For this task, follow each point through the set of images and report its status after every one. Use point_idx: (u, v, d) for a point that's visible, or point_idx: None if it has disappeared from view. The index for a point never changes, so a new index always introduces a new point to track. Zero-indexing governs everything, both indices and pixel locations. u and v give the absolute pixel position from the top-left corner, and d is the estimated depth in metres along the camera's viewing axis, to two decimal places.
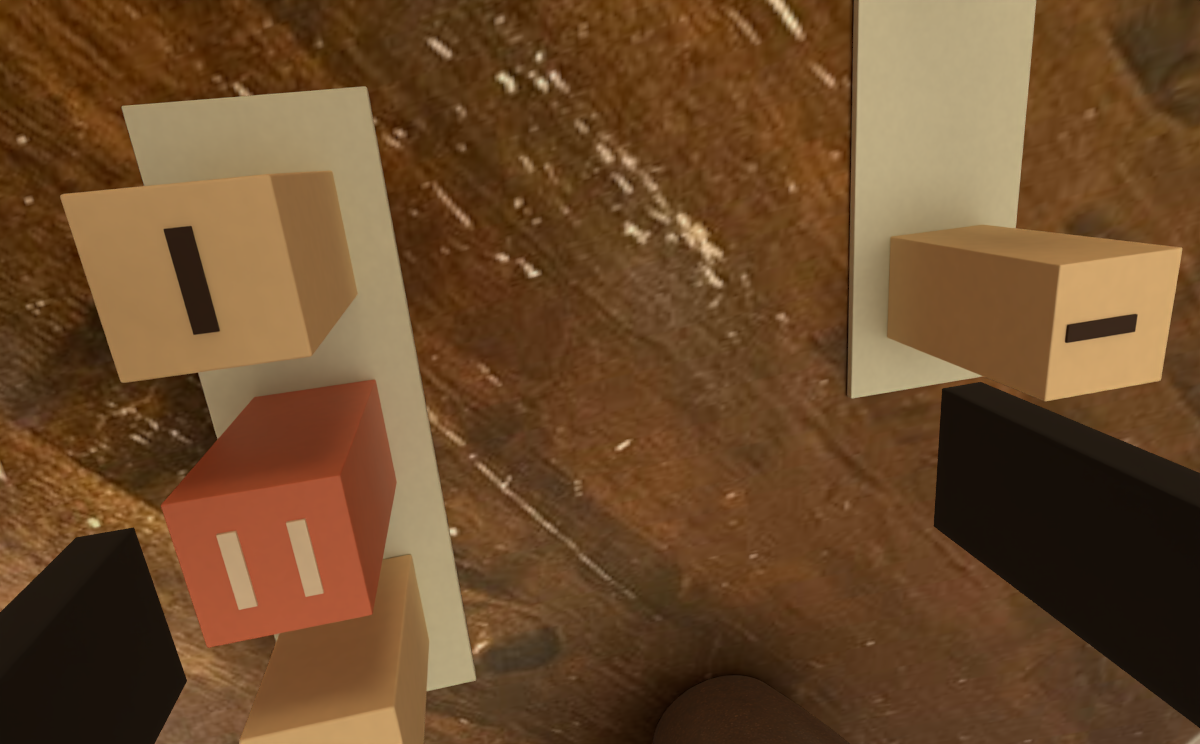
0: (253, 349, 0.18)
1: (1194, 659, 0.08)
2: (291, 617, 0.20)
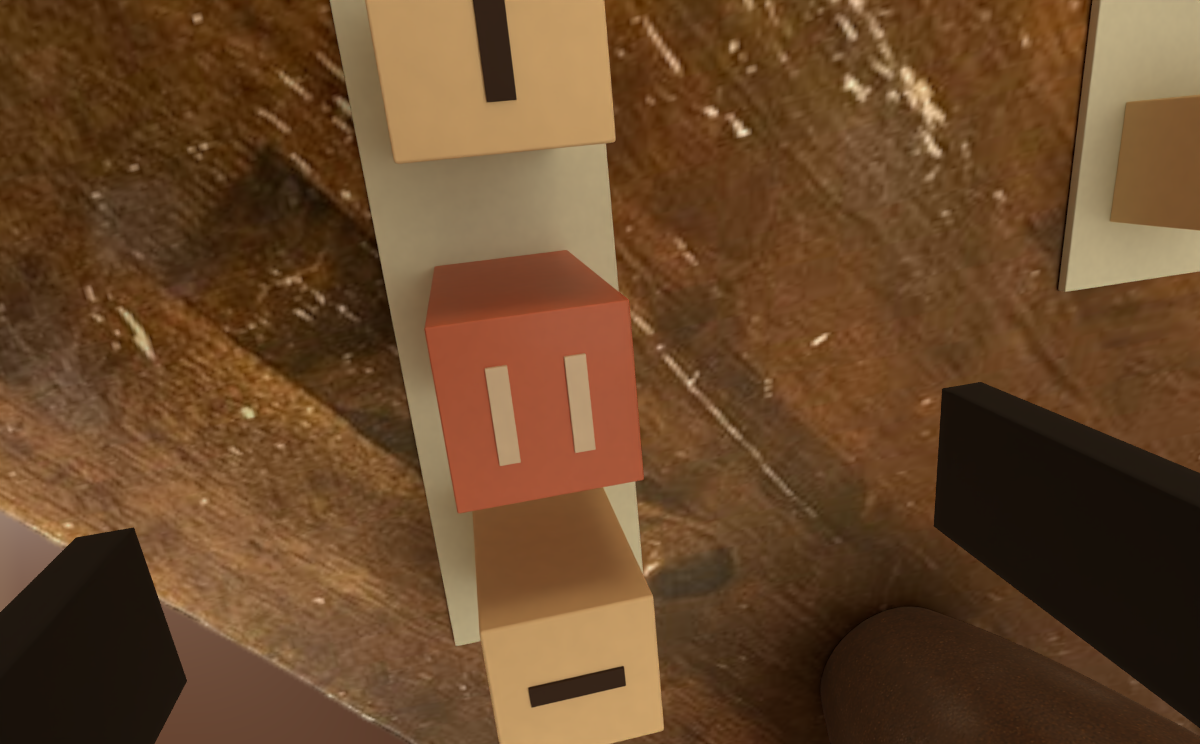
0: (551, 127, 0.14)
1: (1192, 659, 0.08)
2: (556, 479, 0.17)
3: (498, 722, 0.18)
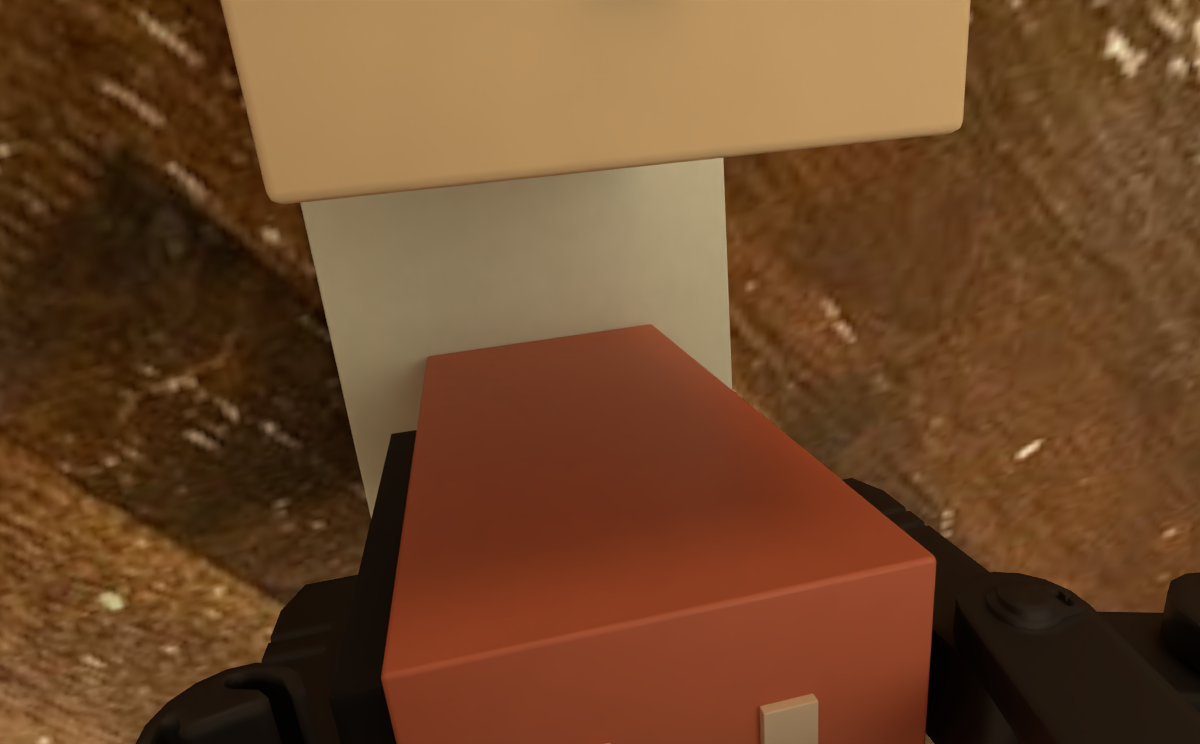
0: (783, 84, 0.04)
1: None
2: None
3: None
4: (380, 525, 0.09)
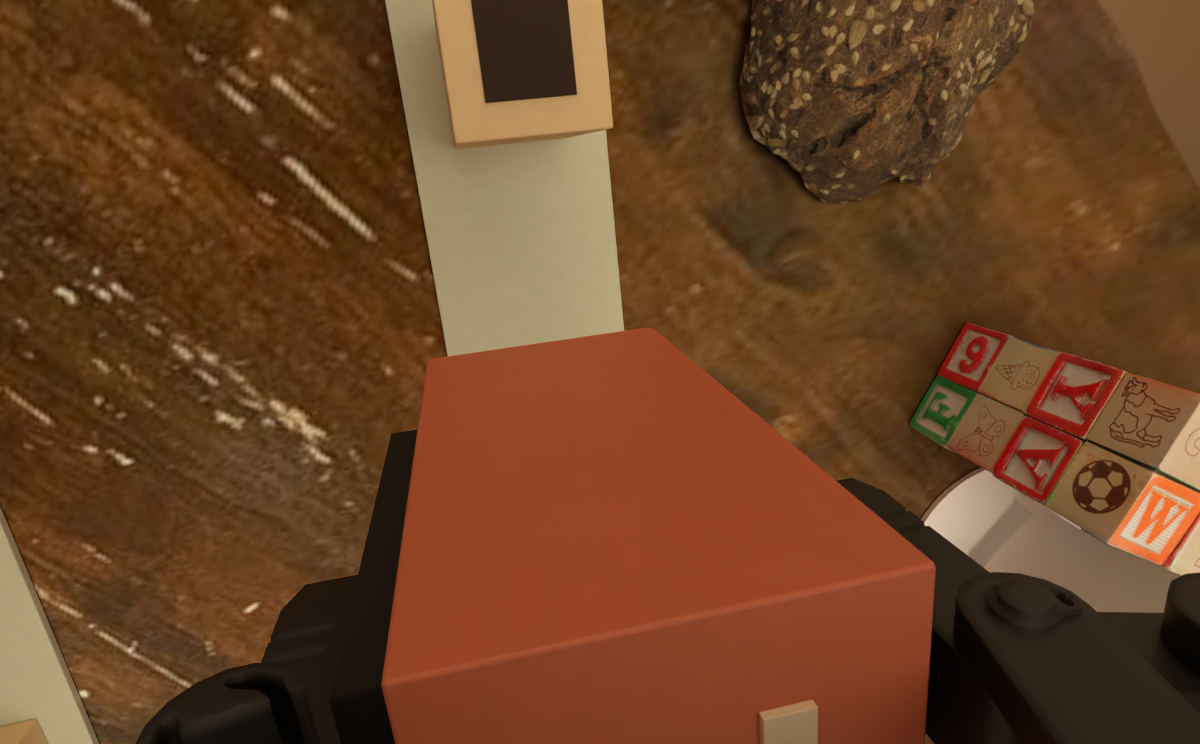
0: None
1: None
2: None
3: None
4: (380, 525, 0.09)
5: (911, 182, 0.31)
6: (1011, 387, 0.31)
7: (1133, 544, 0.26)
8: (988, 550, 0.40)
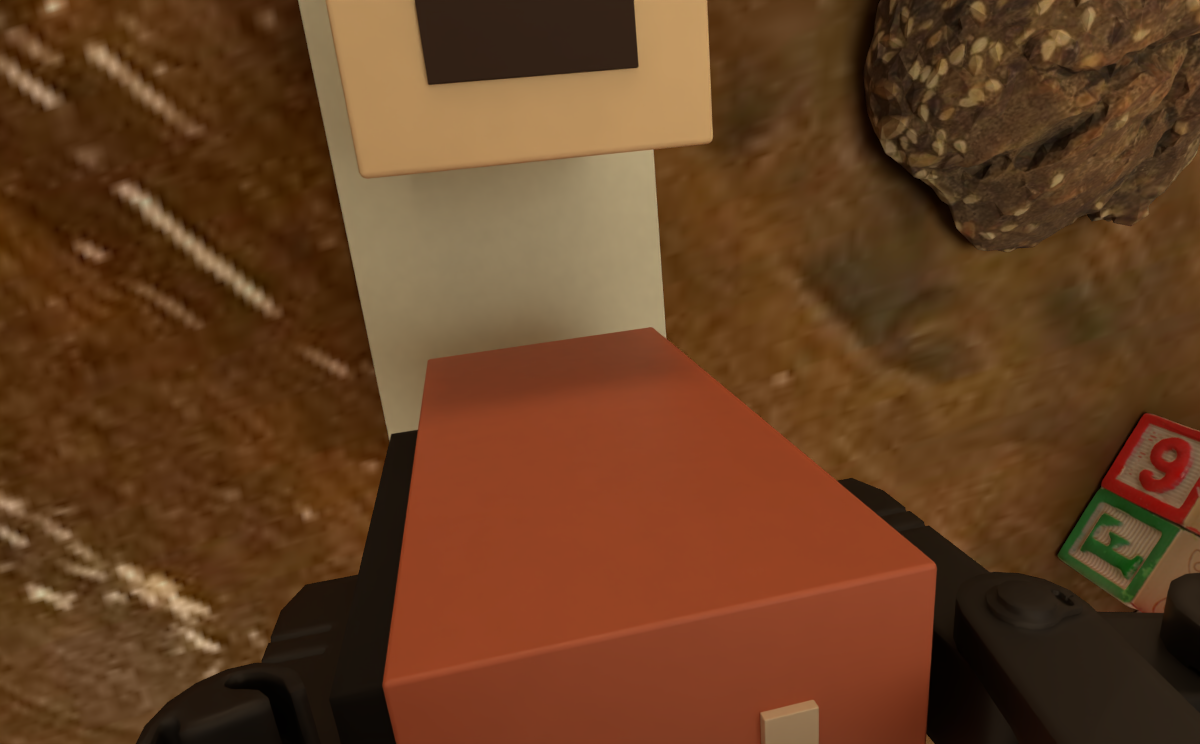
0: None
1: None
2: None
3: None
4: (380, 525, 0.09)
5: (1116, 220, 0.20)
6: None
7: None
8: None
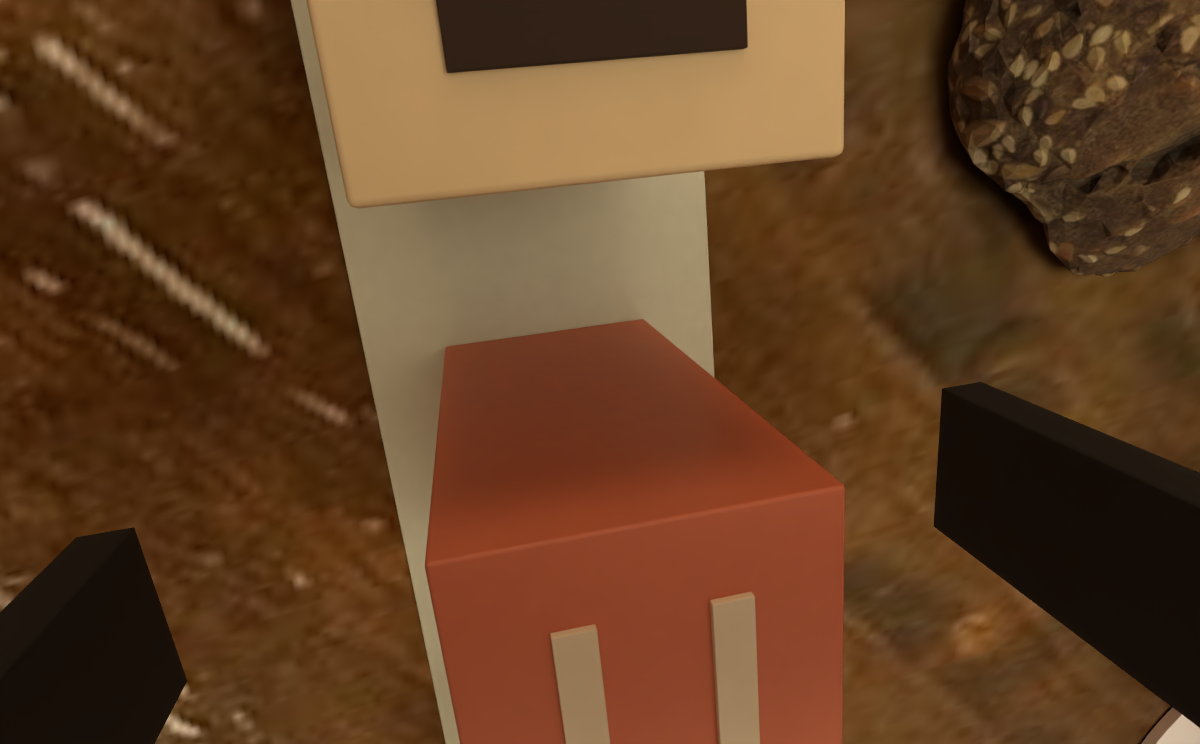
0: None
1: (1193, 659, 0.08)
2: None
3: None
4: None
5: None
6: None
7: None
8: None
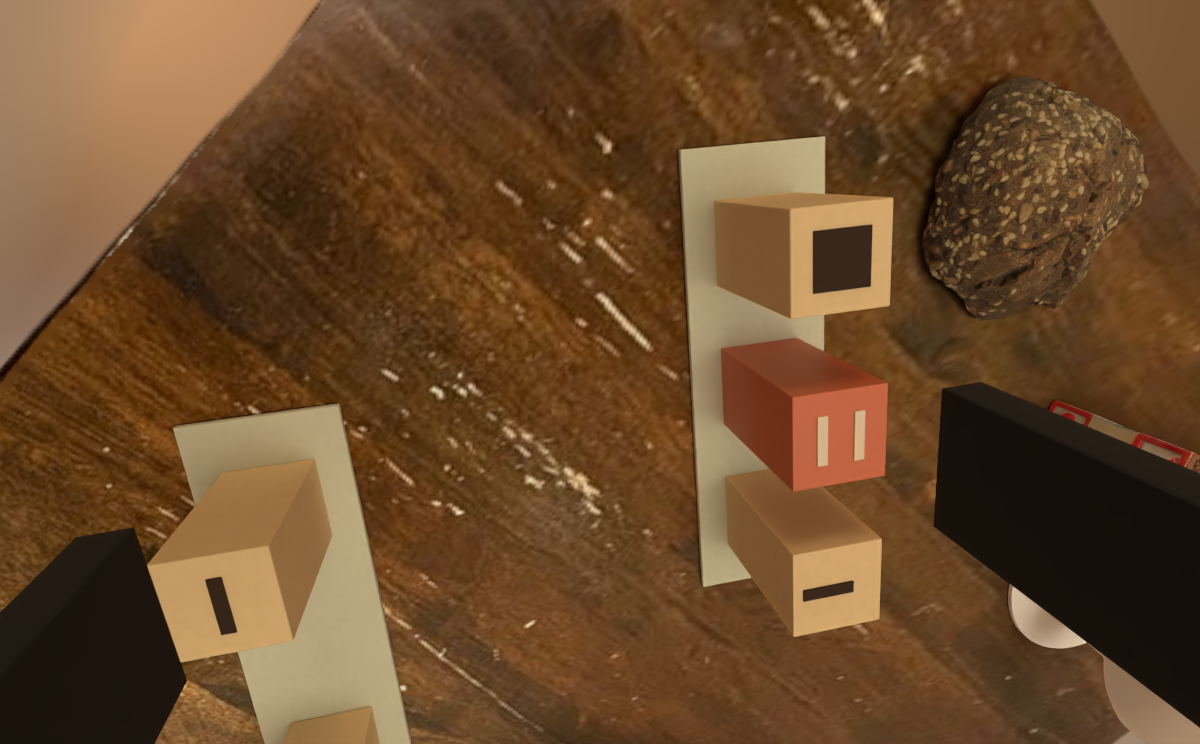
0: (257, 640, 0.29)
1: (1192, 659, 0.08)
2: (842, 474, 0.32)
3: None
4: None
5: (1047, 305, 0.41)
6: None
7: None
8: None
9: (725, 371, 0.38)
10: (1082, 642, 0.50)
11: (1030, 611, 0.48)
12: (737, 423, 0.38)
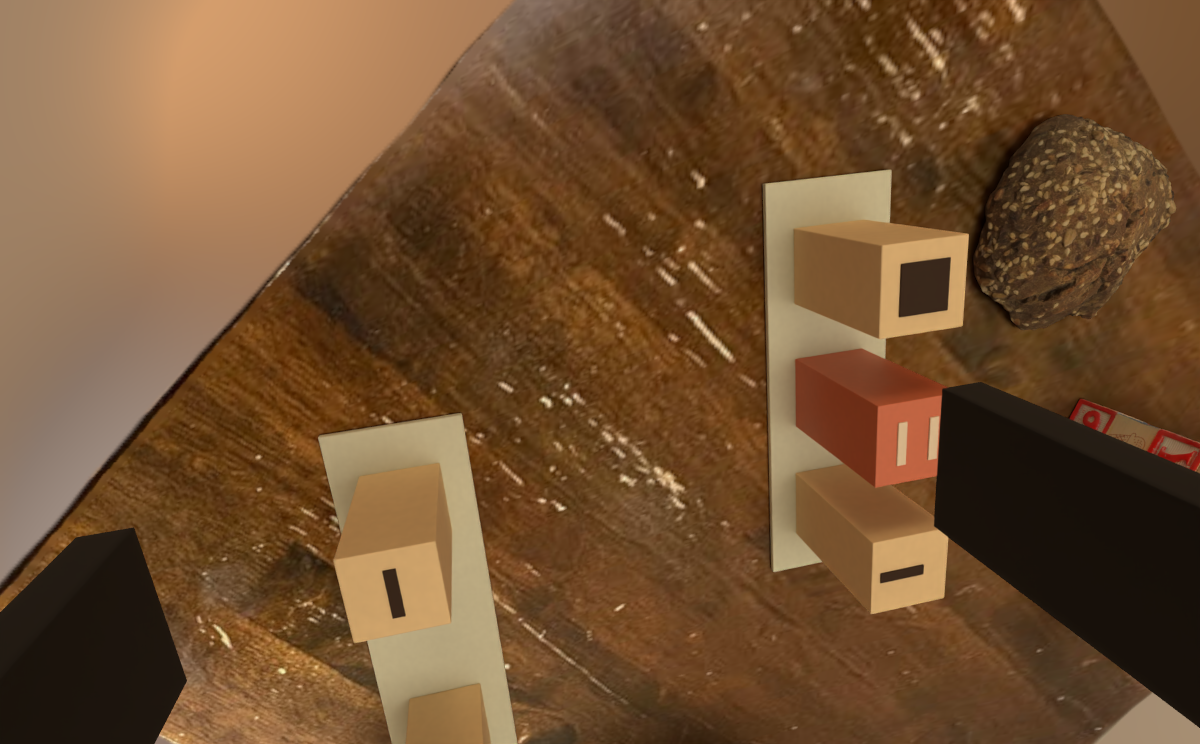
0: (421, 622, 0.33)
1: (1192, 659, 0.08)
2: (917, 472, 0.36)
3: None
4: None
5: (1082, 316, 0.45)
6: None
7: None
8: None
9: (799, 379, 0.43)
10: None
11: None
12: (812, 426, 0.42)
